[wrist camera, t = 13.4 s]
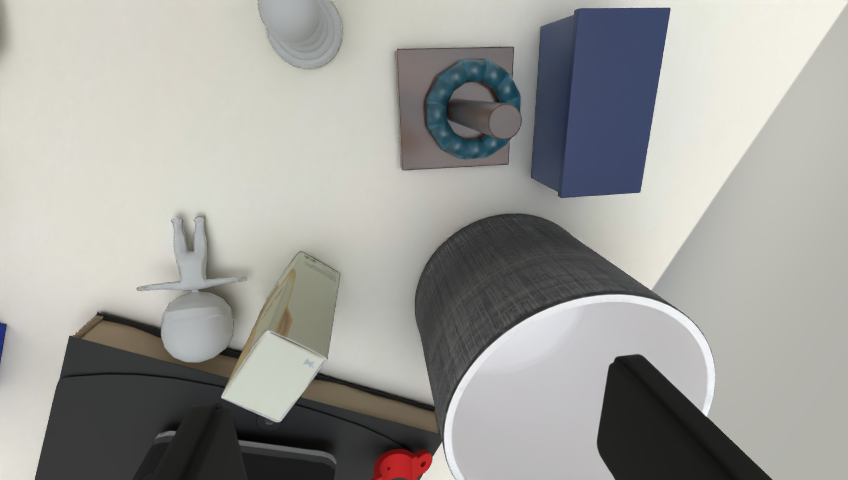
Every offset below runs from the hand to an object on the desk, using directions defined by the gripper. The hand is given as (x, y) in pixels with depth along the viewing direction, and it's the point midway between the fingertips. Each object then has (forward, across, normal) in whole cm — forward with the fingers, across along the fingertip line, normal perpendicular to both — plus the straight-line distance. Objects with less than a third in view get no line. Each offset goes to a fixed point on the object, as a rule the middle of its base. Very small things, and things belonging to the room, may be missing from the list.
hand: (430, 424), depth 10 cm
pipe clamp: (+19, +1, +26) cm, 32 cm away
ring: (+24, -7, -6) cm, 26 cm away
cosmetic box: (+26, +8, +9) cm, 29 cm away
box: (+26, -16, -6) cm, 31 cm away
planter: (+26, -11, +12) cm, 31 cm away
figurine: (+26, +16, +2) cm, 31 cm away
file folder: (+26, +16, +27) cm, 41 cm away
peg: (+26, -6, -6) cm, 28 cm away
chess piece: (+26, +5, -12) cm, 30 cm away
